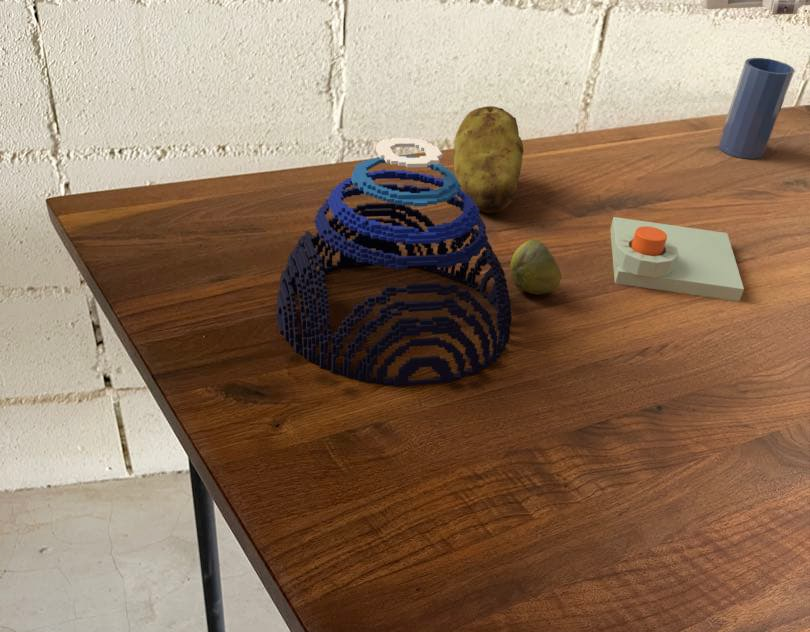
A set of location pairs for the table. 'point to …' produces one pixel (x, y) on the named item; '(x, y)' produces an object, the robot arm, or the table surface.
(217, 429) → the table surface
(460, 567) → the table surface
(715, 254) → the scale
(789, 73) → the cup
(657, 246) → the tare button
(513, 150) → the potato
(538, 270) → the green mango
